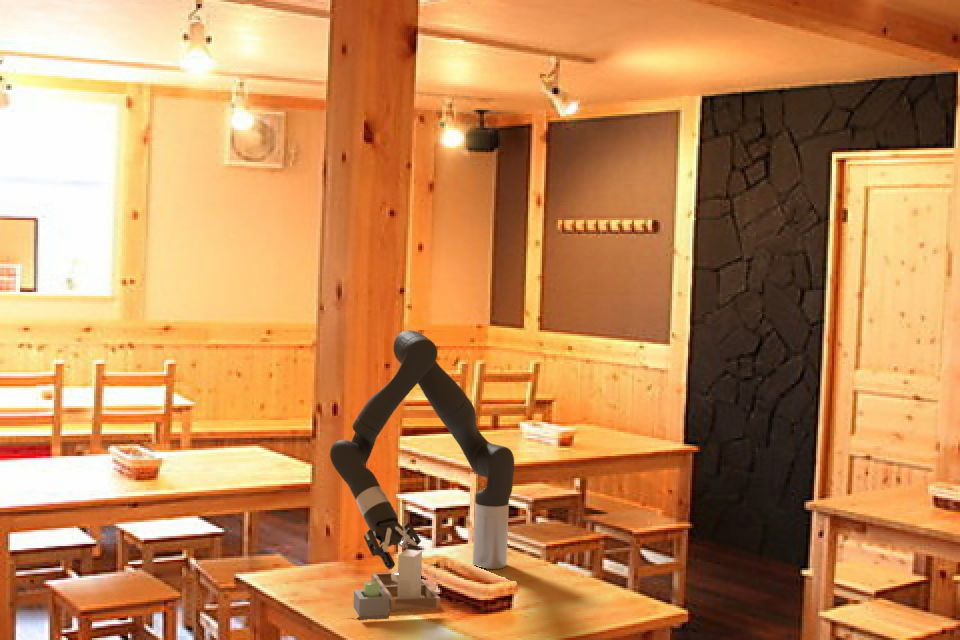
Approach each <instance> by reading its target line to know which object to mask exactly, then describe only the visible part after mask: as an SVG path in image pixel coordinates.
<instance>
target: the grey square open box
mask: <svg viewBox="0 0 960 640" xmlns="http://www.w3.org/2000/svg"><path fill="white" fill-rule="evenodd" d="M353 609H354V610H355V612H356V614H357V615H358V618H357V620H358V621H368V620H367V619H375V620H387V618H389V619H390V617H389V615H390V609H389V596H388V595H387V594H386V592H385V591H384V589H379V597H364V589H355V590H353ZM364 619H366V620H364Z"/></svg>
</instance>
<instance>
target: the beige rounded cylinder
mask: <svg viewBox="0 0 960 640" xmlns="http://www.w3.org/2000/svg"><path fill="white" fill-rule="evenodd" d="M390 573H391V585H398V570H395V571H392V572H390Z"/></svg>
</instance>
